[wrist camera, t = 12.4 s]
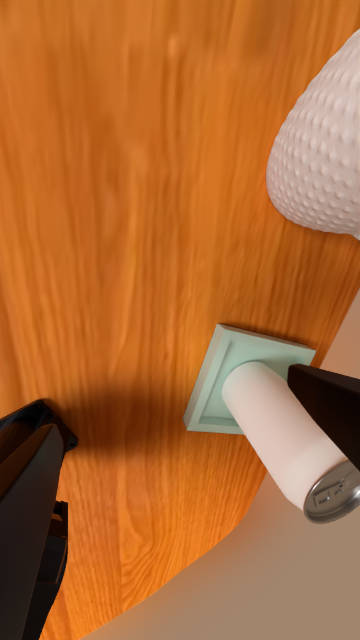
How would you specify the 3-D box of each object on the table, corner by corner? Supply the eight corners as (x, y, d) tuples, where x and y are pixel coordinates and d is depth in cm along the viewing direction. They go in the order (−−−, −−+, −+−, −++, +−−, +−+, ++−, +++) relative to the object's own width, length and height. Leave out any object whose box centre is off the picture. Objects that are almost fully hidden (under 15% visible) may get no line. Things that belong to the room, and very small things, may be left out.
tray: (265, 425, 29) (274, 436, 27) (182, 418, 25) (186, 430, 23) (304, 344, 26) (316, 351, 24) (217, 323, 22) (224, 329, 21)
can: (274, 393, 26) (382, 497, 15) (228, 416, 26) (305, 542, 15) (265, 350, 24) (384, 437, 13) (213, 374, 23) (291, 488, 12)
